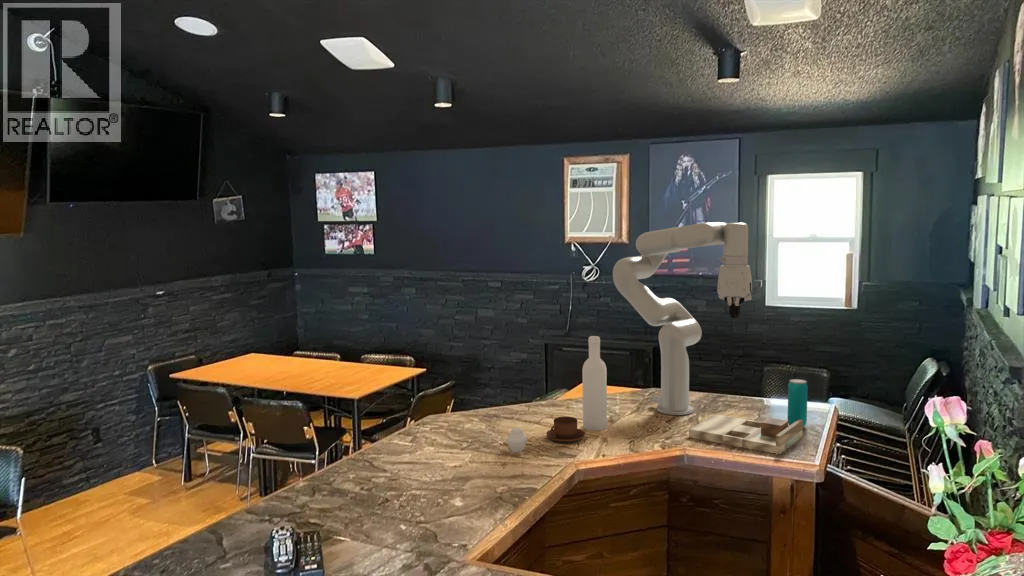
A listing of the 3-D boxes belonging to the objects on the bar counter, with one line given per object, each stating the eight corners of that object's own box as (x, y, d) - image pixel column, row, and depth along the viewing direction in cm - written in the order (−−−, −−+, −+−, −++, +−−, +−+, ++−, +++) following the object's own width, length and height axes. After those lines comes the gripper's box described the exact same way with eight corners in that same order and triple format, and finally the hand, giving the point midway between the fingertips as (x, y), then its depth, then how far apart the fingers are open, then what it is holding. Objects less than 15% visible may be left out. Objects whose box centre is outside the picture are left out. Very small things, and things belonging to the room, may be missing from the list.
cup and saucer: (573, 447, 216) (573, 427, 215) (539, 441, 222) (539, 422, 222) (591, 436, 226) (591, 417, 225) (558, 431, 232) (558, 412, 232)
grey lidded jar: (503, 452, 212) (503, 429, 211) (511, 446, 218) (510, 423, 217) (523, 455, 210) (523, 431, 209) (530, 448, 215) (530, 425, 215)
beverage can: (803, 423, 235) (804, 378, 233) (808, 429, 229) (810, 382, 228) (785, 423, 235) (786, 378, 234) (790, 428, 230) (791, 382, 228)
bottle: (610, 425, 237) (609, 335, 234) (602, 432, 230) (602, 339, 227) (587, 422, 240) (586, 334, 237) (579, 429, 233) (578, 338, 230)
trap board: (688, 437, 223) (688, 419, 223) (715, 421, 239) (715, 405, 238) (779, 454, 206) (780, 436, 205) (802, 437, 221) (802, 419, 220)
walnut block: (760, 435, 216) (761, 422, 216) (768, 430, 221) (768, 417, 220) (781, 438, 212) (781, 425, 212) (788, 433, 217) (788, 420, 216)
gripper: (708, 261, 234) (708, 317, 236) (753, 262, 224) (752, 320, 226) (718, 259, 240) (717, 314, 241) (762, 261, 230) (761, 317, 232)
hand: (734, 317), depth 234 cm, fingers closed
